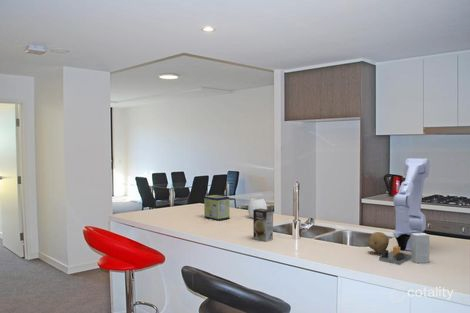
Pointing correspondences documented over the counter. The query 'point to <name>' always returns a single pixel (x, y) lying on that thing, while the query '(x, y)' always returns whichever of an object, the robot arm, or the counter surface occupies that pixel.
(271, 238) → the coffee box
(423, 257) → the skincare box
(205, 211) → the protein box
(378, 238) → the natural sponge
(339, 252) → the counter surface
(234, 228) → the counter surface
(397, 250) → the block
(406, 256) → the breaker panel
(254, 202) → the cup
